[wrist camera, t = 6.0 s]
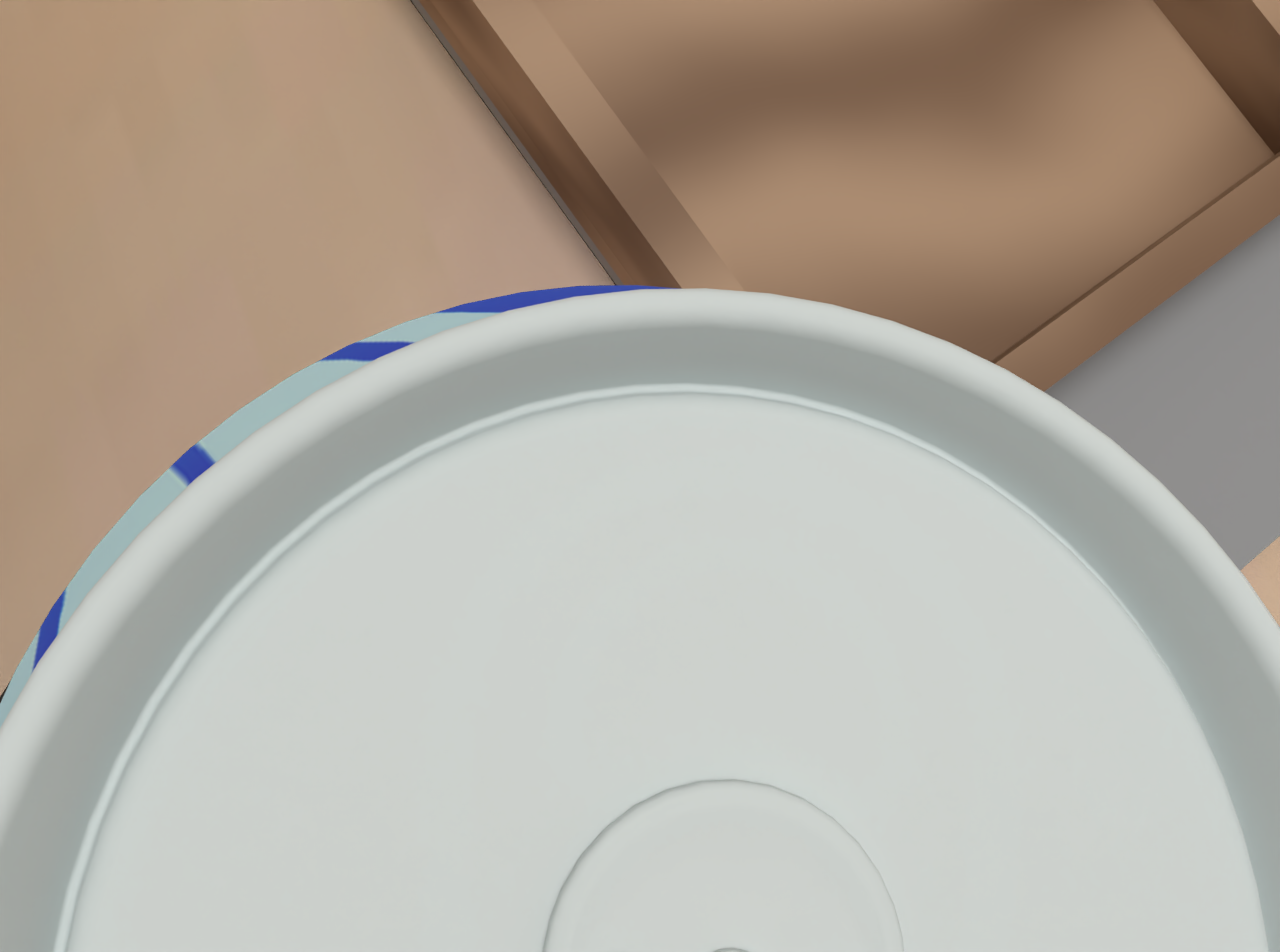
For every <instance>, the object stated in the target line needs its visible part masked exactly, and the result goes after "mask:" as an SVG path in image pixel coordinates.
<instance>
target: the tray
mask: <svg viewBox="0 0 1280 952" xmlns="http://www.w3.org/2000/svg"><path fill="white" fill-rule="evenodd" d="M419 2H420V3H421V4H422V6H423V7H424V9H425V10H426V11H427V13H428V14H429V16H430V17H431V18H432V20H433V21H434V22H435V24H436V25H437V27H438V28H439V29H440V31H441V32H442V34H443V35H444V36H445V38H446V39H447V40H448V42H449V43H450V45H451V46H452V47H453V49H454V50H455V52H456V53H457V54H458V56H459V57H460V59H461V60H462V61H463V63H464V64H465V65H466V67H467V68H468V70H469V71H470V72H471V74H472V75H473V77H474V78H475V79H476V81H477V82H478V83H479V85H480V86H481V88H482V89H483V90H484V92H485V93H486V95H487V96H488V97H489V99H490V100H491V101H492V103H493V104H494V106H495V107H496V108H497V110H498V111H499V113H500V114H501V115H502V117H503V118H504V119H505V121H506V122H507V124H508V125H509V126H510V128H511V129H512V131H513V132H514V133H515V135H516V136H517V137H518V139H519V140H520V142H521V143H522V144H523V146H524V147H525V149H526V150H527V151H528V153H529V154H530V155H531V157H532V158H533V160H534V161H535V162H536V164H537V165H538V167H539V168H540V169H541V171H542V172H543V173H544V175H545V176H546V178H547V179H548V180H549V182H550V183H551V185H552V186H553V187H554V189H555V190H556V191H557V193H558V194H559V196H560V197H561V198H562V200H563V201H564V203H565V204H566V205H567V207H568V208H569V209H570V211H571V212H572V214H573V215H574V216H575V218H576V219H577V221H578V222H579V223H580V225H581V226H582V227H583V229H584V230H585V232H586V233H587V234H588V236H589V237H590V239H591V240H592V241H593V243H594V244H595V245H596V247H597V248H598V250H599V251H600V252H601V254H602V255H603V257H604V258H605V259H606V261H607V262H608V263H609V265H610V266H611V268H612V269H613V270H614V272H615V273H616V275H617V276H618V277H619V279H620V280H621V281H622V283H623V284H624V285H641V286H654V287H666V288H679V289H696V288H708V289H720V290H733V291H746V292H758V293H770V294H776V295H782V296H787V297H793V298H799V299H805V300H810V301H816V302H822V303H827V304H833V305H836V306H840V307H844V308H847V309H851V310H855V311H858V312H862V313H866V314H869V315H873V316H877V317H880V318H884V319H888V320H891V321H894V322H897V323H899V324H902V325H905V326H907V327H910V328H913V329H915V330H918V331H921V332H923V333H926V334H929V335H931V336H934V337H937V338H939V339H942V340H945V341H947V342H950V343H952V344H954V345H956V346H959V347H961V348H963V349H965V350H967V351H969V352H971V353H973V354H975V355H977V356H979V357H981V358H983V359H985V360H988V361H990V362H992V363H994V364H996V365H998V366H1000V367H1002V368H1004V369H1006V370H1008V371H1010V372H1011V373H1013V374H1015V375H1016V376H1018V377H1020V378H1021V379H1023V380H1025V381H1026V382H1028V383H1030V384H1031V385H1033V386H1035V387H1036V388H1038V389H1040V390H1041V391H1043V392H1044V391H1046V390H1047V389H1048V388H1050V387H1051V386H1052V385H1054V384H1055V383H1056V382H1058V381H1059V380H1060V379H1062V378H1063V377H1064V376H1066V375H1067V374H1068V373H1070V372H1071V371H1072V370H1074V369H1075V368H1076V367H1078V366H1079V365H1080V364H1082V363H1083V362H1084V361H1086V360H1087V359H1088V358H1090V357H1091V356H1092V355H1094V354H1095V353H1096V352H1098V351H1099V350H1100V349H1102V348H1103V347H1104V346H1106V345H1107V344H1108V343H1110V342H1111V341H1112V340H1114V339H1115V338H1116V337H1118V336H1119V335H1120V334H1122V333H1123V332H1124V331H1126V330H1127V329H1128V328H1130V327H1131V326H1132V325H1134V324H1135V323H1136V322H1138V321H1139V320H1140V319H1142V318H1143V317H1144V316H1146V315H1147V314H1148V313H1150V312H1151V311H1152V310H1154V309H1155V308H1156V307H1158V306H1159V305H1160V304H1162V303H1163V302H1164V301H1166V300H1167V299H1168V298H1170V297H1171V296H1172V295H1173V294H1175V293H1176V292H1177V291H1179V290H1180V289H1181V288H1183V287H1184V286H1185V285H1187V284H1188V283H1189V282H1191V281H1192V280H1193V279H1195V278H1196V277H1197V276H1199V275H1200V274H1201V273H1203V272H1204V271H1205V270H1207V269H1208V268H1209V267H1211V266H1212V265H1213V264H1215V263H1216V262H1217V261H1219V260H1220V259H1221V258H1223V257H1224V256H1225V255H1227V254H1228V253H1229V252H1231V251H1232V250H1233V249H1235V248H1236V247H1237V246H1239V245H1240V244H1241V243H1243V242H1244V241H1245V240H1247V239H1248V238H1249V237H1251V236H1252V235H1253V234H1255V233H1256V232H1257V231H1259V230H1260V229H1261V228H1263V227H1264V226H1265V225H1267V224H1268V223H1269V222H1271V221H1272V220H1273V219H1275V218H1276V217H1277V216H1279V215H1280V0H419Z"/></svg>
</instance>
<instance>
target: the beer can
mask: <svg viewBox="0 0 1280 952" xmlns="http://www.w3.org/2000/svg"><path fill="white" fill-rule="evenodd" d="M0 952H1280V627H1279V625H1278V624H1277V623H1276V621H1275V620H1274V618H1273V617H1272V615H1271V614H1270V612H1269V611H1268V609H1267V608H1266V607H1265V605H1264V604H1263V602H1262V601H1261V599H1260V598H1259V596H1258V595H1257V593H1256V592H1255V590H1254V589H1253V588H1252V586H1251V585H1250V583H1249V582H1248V580H1247V579H1246V577H1245V576H1244V575H1243V574H1242V573H1241V571H1240V570H1239V569H1238V568H1237V566H1236V565H1235V564H1234V563H1233V562H1232V560H1231V559H1230V558H1229V557H1228V555H1227V554H1226V553H1225V552H1224V550H1223V549H1222V548H1221V547H1220V546H1219V544H1218V543H1217V542H1216V541H1215V539H1214V538H1213V537H1212V536H1211V535H1210V533H1209V532H1208V531H1207V530H1206V528H1205V527H1204V526H1203V525H1202V524H1201V523H1200V522H1199V521H1198V520H1197V519H1196V518H1195V517H1194V516H1193V515H1192V514H1191V513H1190V512H1189V511H1188V510H1187V509H1186V508H1185V507H1184V506H1183V504H1182V503H1181V502H1180V501H1179V500H1178V499H1177V498H1176V497H1175V496H1174V495H1173V494H1172V493H1171V492H1170V491H1169V490H1168V489H1167V488H1166V487H1165V486H1164V485H1163V484H1162V483H1161V482H1160V481H1159V480H1158V479H1157V478H1156V477H1155V476H1153V475H1152V474H1151V473H1150V472H1149V471H1148V470H1147V469H1145V468H1144V467H1143V466H1142V465H1141V464H1140V463H1139V462H1137V461H1136V460H1135V459H1134V458H1133V457H1132V456H1130V455H1129V454H1128V453H1127V452H1126V451H1125V450H1124V449H1122V448H1121V447H1120V446H1119V445H1118V444H1117V443H1116V442H1114V441H1113V440H1112V439H1111V438H1109V437H1108V436H1107V435H1105V434H1104V433H1102V432H1101V431H1100V430H1098V429H1097V428H1096V427H1094V426H1093V425H1091V424H1090V423H1089V422H1087V421H1086V420H1085V419H1083V418H1082V417H1080V416H1079V415H1078V414H1076V413H1075V412H1074V411H1072V410H1071V409H1069V408H1068V407H1067V406H1065V405H1064V404H1063V403H1061V402H1060V401H1058V400H1056V399H1055V398H1053V397H1051V396H1050V395H1048V394H1046V393H1045V392H1043V391H1041V390H1040V389H1038V388H1036V387H1035V386H1033V385H1031V384H1030V383H1028V382H1026V381H1025V380H1023V379H1021V378H1020V377H1018V376H1016V375H1015V374H1013V373H1011V372H1010V371H1008V370H1006V369H1004V368H1002V367H1000V366H998V365H996V364H994V363H992V362H990V361H988V360H985V359H983V358H981V357H979V356H977V355H975V354H973V353H971V352H969V351H967V350H965V349H963V348H961V347H959V346H956V345H954V344H952V343H950V342H947V341H945V340H942V339H939V338H937V337H934V336H931V335H929V334H926V333H923V332H921V331H918V330H915V329H913V328H910V327H907V326H905V325H902V324H899V323H897V322H894V321H891V320H888V319H884V318H880V317H877V316H873V315H869V314H866V313H862V312H858V311H855V310H851V309H847V308H844V307H840V306H836V305H833V304H827V303H822V302H816V301H810V300H805V299H799V298H793V297H787V296H782V295H776V294H770V293H758V292H746V291H733V290H720V289H708V288H696V289H679V288H666V287H654V286H641V285H613V286H575V287H566V288H556V289H547V290H538V291H529V292H521V293H516V294H511V295H506V296H501V297H496V298H491V299H487V300H482V301H477V302H472V303H467V304H463V305H459V306H456V307H453V308H450V309H446V310H443V311H440V312H437V313H433V314H430V315H427V316H423V317H420V318H417V319H414V320H410V321H407V322H404V323H402V324H399V325H397V326H394V327H392V328H390V329H387V330H385V331H382V332H380V333H377V334H375V335H373V336H370V337H368V338H365V339H363V340H360V341H358V342H356V343H353V344H351V345H348V346H346V347H344V348H342V349H341V350H339V351H337V352H335V353H333V354H331V355H329V356H327V357H325V358H323V359H322V360H320V361H318V362H316V363H314V364H312V365H310V366H308V367H306V368H304V369H302V370H301V371H299V372H297V373H295V374H293V375H291V376H290V377H288V378H287V379H285V380H284V381H282V382H281V383H279V384H278V385H276V386H274V387H273V388H271V389H270V390H268V391H267V392H265V393H264V394H262V395H261V396H259V397H258V398H256V399H255V400H253V401H251V402H250V403H248V404H247V405H245V406H244V407H242V408H241V409H239V410H238V411H237V412H235V413H234V414H233V415H232V416H230V417H229V418H228V419H227V420H225V421H224V422H223V423H222V424H220V425H219V426H218V427H216V428H215V429H214V430H213V431H211V432H210V433H209V434H208V435H206V436H205V437H204V438H203V439H201V440H200V441H199V442H198V443H196V444H195V445H194V446H192V447H191V448H190V449H189V450H188V451H187V452H186V453H185V454H183V455H182V456H181V457H180V458H179V459H178V460H177V461H176V462H175V463H174V464H173V465H172V466H171V467H170V468H169V469H168V470H167V471H166V472H165V473H164V474H163V475H162V476H160V477H159V478H158V479H157V480H156V481H155V482H154V483H153V484H152V485H151V486H150V487H149V488H148V489H147V490H146V491H145V492H144V493H143V494H142V495H141V496H140V497H139V498H138V499H137V500H136V501H135V502H134V504H133V505H132V506H131V507H130V508H129V509H128V511H127V512H126V513H125V514H124V515H123V516H122V517H121V519H120V520H119V521H118V522H117V523H116V524H115V525H114V527H113V528H112V529H111V530H110V531H109V532H108V534H107V535H106V536H105V537H104V538H103V539H102V540H101V542H100V543H99V544H98V545H97V546H96V547H95V548H94V550H93V551H92V553H91V554H90V555H89V557H88V558H87V560H86V561H85V562H84V564H83V565H82V567H81V568H80V569H79V571H78V572H77V573H76V575H75V576H74V578H73V579H72V580H71V582H70V583H69V585H68V586H67V587H66V589H65V590H64V592H63V593H62V594H61V596H60V597H59V599H58V600H57V601H56V603H55V604H54V606H53V607H52V609H51V610H50V612H49V614H48V616H47V617H46V619H45V621H44V622H43V624H42V626H41V628H40V629H39V631H38V633H37V634H36V636H35V638H34V640H33V641H32V643H31V645H30V646H29V648H28V650H27V651H26V653H25V655H24V657H23V658H22V660H21V662H20V663H19V665H18V667H17V669H16V671H15V673H14V675H13V677H12V679H11V681H10V684H9V686H8V688H7V690H6V692H5V694H4V696H3V699H2V701H1V703H0Z"/></svg>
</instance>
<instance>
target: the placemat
mask: <svg viewBox="0 0 1280 952" xmlns="http://www.w3.org/2000/svg"><path fill="white" fill-rule="evenodd" d="M411 1H412V2H413V4H414V5H415V7H416V8H417V9H418V11H419V12H420V14H421V15H422V16H423V18H424V19H425V20H426V22H427V23H428V25H429V26H430V27H431V29H432V30H433V32H434V33H435V34H436V36H437V37H438V38H439V40H440V41H441V43H442V44H443V45H444V47H445V48H446V50H447V51H448V52H449V54H450V55H451V56H452V58H453V59H454V61H455V62H456V63H457V65H458V66H459V68H460V69H461V70H462V72H463V73H464V75H465V76H466V77H467V79H468V80H469V81H470V83H471V84H472V86H473V87H474V88H475V90H476V91H477V93H478V94H479V95H480V97H481V98H482V99H483V101H484V102H485V104H486V105H487V106H488V108H489V109H490V111H491V112H492V113H493V115H494V116H495V117H496V119H497V120H498V122H499V123H500V124H501V126H502V127H503V129H504V130H505V131H506V133H507V134H508V135H509V137H510V138H511V140H512V141H513V142H514V144H515V145H516V147H517V148H518V149H519V151H520V152H521V154H522V155H523V156H524V158H525V159H526V160H527V162H528V163H529V165H530V166H531V167H532V169H533V170H534V172H535V173H536V174H537V176H538V177H539V178H540V180H541V181H542V183H543V184H544V185H545V187H546V188H547V190H548V191H549V192H550V194H551V195H552V196H553V198H554V199H555V201H556V202H557V203H558V205H559V206H560V208H561V209H562V210H563V212H564V213H565V215H566V216H567V217H568V219H569V220H570V221H571V223H572V224H573V226H574V227H575V228H576V230H577V231H578V233H579V234H580V235H581V237H582V238H583V239H584V241H585V242H586V244H587V245H588V246H589V248H590V249H591V251H592V252H593V253H594V255H595V256H596V257H597V259H598V260H599V262H600V263H601V264H602V266H603V267H604V269H605V270H606V271H607V273H608V274H609V275H610V277H611V278H612V280H613V281H614V282H615V284H616V285H624V284H623V283H622V281H621V280H620V279H619V277H618V276H617V275H616V273H615V272H614V270H613V269H612V268H611V266H610V265H609V263H608V262H607V261H606V259H605V258H604V257H603V255H602V254H601V252H600V251H599V250H598V248H597V247H596V245H595V244H594V243H593V241H592V240H591V239H590V237H589V236H588V234H587V233H586V232H585V230H584V229H583V227H582V226H581V225H580V223H579V222H578V221H577V219H576V218H575V216H574V215H573V214H572V212H571V211H570V209H569V208H568V207H567V205H566V204H565V203H564V201H563V200H562V198H561V197H560V196H559V194H558V193H557V191H556V190H555V189H554V187H553V186H552V185H551V183H550V182H549V180H548V179H547V178H546V176H545V175H544V173H543V172H542V171H541V169H540V168H539V167H538V165H537V164H536V162H535V161H534V160H533V158H532V157H531V155H530V154H529V153H528V151H527V150H526V149H525V147H524V146H523V144H522V143H521V142H520V140H519V139H518V137H517V136H516V135H515V133H514V132H513V131H512V129H511V128H510V126H509V125H508V124H507V122H506V121H505V119H504V118H503V117H502V115H501V114H500V113H499V111H498V110H497V108H496V107H495V106H494V104H493V103H492V101H491V100H490V99H489V97H488V96H487V95H486V93H485V92H484V90H483V89H482V88H481V86H480V85H479V83H478V82H477V81H476V79H475V78H474V77H473V75H472V74H471V72H470V71H469V70H468V68H467V67H466V65H465V64H464V63H463V61H462V60H461V59H460V57H459V56H458V54H457V53H456V52H455V50H454V49H453V47H452V46H451V45H450V43H449V42H448V40H447V39H446V38H445V36H444V35H443V34H442V32H441V31H440V29H439V28H438V27H437V25H436V24H435V22H434V21H433V20H432V18H431V17H430V16H429V14H428V13H427V11H426V10H425V9H424V7H423V6H422V4H421V3H420V2H419V0H411ZM1044 392H1045V393H1046V394H1048V395H1050V396H1051V397H1053V398H1055V399H1056V400H1058V401H1060V402H1061V403H1063V404H1064V405H1065V406H1067V407H1068V408H1069V409H1071V410H1072V411H1074V412H1075V413H1076V414H1078V415H1079V416H1080V417H1082V418H1083V419H1085V420H1086V421H1087V422H1089V423H1090V424H1091V425H1093V426H1094V427H1096V428H1097V429H1098V430H1100V431H1101V432H1102V433H1104V434H1105V435H1107V436H1108V437H1109V438H1111V439H1112V440H1113V441H1114V442H1116V443H1117V444H1118V445H1119V446H1120V447H1121V448H1122V449H1124V450H1125V451H1126V452H1127V453H1128V454H1129V455H1130V456H1132V457H1133V458H1134V459H1135V460H1136V461H1137V462H1139V463H1140V464H1141V465H1142V466H1143V467H1144V468H1145V469H1147V470H1148V471H1149V472H1150V473H1151V474H1152V475H1153V476H1155V477H1156V478H1157V479H1158V480H1159V481H1160V482H1161V483H1162V484H1163V485H1164V486H1165V487H1166V488H1167V489H1168V490H1169V491H1170V492H1171V493H1172V494H1173V495H1174V496H1175V497H1176V498H1177V499H1178V500H1179V501H1180V502H1181V503H1182V504H1183V506H1184V507H1185V508H1186V509H1187V510H1188V511H1189V512H1190V513H1191V514H1192V515H1193V516H1194V517H1195V518H1196V519H1197V520H1198V521H1199V522H1200V523H1201V524H1202V525H1203V526H1204V527H1205V528H1206V530H1207V531H1208V532H1209V533H1210V535H1211V536H1212V537H1213V538H1214V539H1215V541H1216V542H1217V543H1218V544H1219V546H1220V547H1221V548H1222V549H1223V550H1224V552H1225V553H1226V554H1227V555H1228V557H1229V558H1230V559H1231V560H1232V562H1233V563H1234V564H1235V565H1236V566H1237V568H1238V569H1239V570H1241V569H1242V568H1243V567H1244V566H1246V565H1247V564H1248V563H1249V562H1250V561H1251V560H1252V559H1254V558H1255V557H1256V556H1257V555H1258V554H1259V553H1261V552H1262V551H1263V550H1264V549H1265V548H1266V547H1267V546H1269V545H1270V544H1271V543H1272V542H1273V541H1274V540H1275V539H1277V538H1278V537H1279V536H1280V215H1279V216H1277V217H1276V218H1275V219H1273V220H1272V221H1271V222H1269V223H1268V224H1267V225H1265V226H1264V227H1263V228H1261V229H1260V230H1259V231H1257V232H1256V233H1255V234H1253V235H1252V236H1251V237H1249V238H1248V239H1247V240H1245V241H1244V242H1243V243H1241V244H1240V245H1239V246H1237V247H1236V248H1235V249H1233V250H1232V251H1231V252H1229V253H1228V254H1227V255H1225V256H1224V257H1223V258H1221V259H1220V260H1219V261H1217V262H1216V263H1215V264H1213V265H1212V266H1211V267H1209V268H1208V269H1207V270H1205V271H1204V272H1203V273H1201V274H1200V275H1199V276H1197V277H1196V278H1195V279H1193V280H1192V281H1191V282H1189V283H1188V284H1187V285H1185V286H1184V287H1183V288H1181V289H1180V290H1179V291H1177V292H1176V293H1175V294H1173V295H1172V296H1171V297H1170V298H1168V299H1167V300H1166V301H1164V302H1163V303H1162V304H1160V305H1159V306H1158V307H1156V308H1155V309H1154V310H1152V311H1151V312H1150V313H1148V314H1147V315H1146V316H1144V317H1143V318H1142V319H1140V320H1139V321H1138V322H1136V323H1135V324H1134V325H1132V326H1131V327H1130V328H1128V329H1127V330H1126V331H1124V332H1123V333H1122V334H1120V335H1119V336H1118V337H1116V338H1115V339H1114V340H1112V341H1111V342H1110V343H1108V344H1107V345H1106V346H1104V347H1103V348H1102V349H1100V350H1099V351H1098V352H1096V353H1095V354H1094V355H1092V356H1091V357H1090V358H1088V359H1087V360H1086V361H1084V362H1083V363H1082V364H1080V365H1079V366H1078V367H1076V368H1075V369H1074V370H1072V371H1071V372H1070V373H1068V374H1067V375H1066V376H1064V377H1063V378H1062V379H1060V380H1059V381H1058V382H1056V383H1055V384H1054V385H1052V386H1051V387H1050V388H1048V389H1047V390H1046V391H1044Z"/></svg>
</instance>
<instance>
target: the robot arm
mask: <svg viewBox="0 0 1280 952" xmlns="http://www.w3.org/2000/svg"><path fill="white" fill-rule="evenodd" d="M9 684H10V682H9ZM9 684H8V686H9ZM8 686H7V687H6V689H5V690H4V692H3V693H2V695H1V697H0V703H1V701H2V699H3V696H4V694H5V692H6V690H7V688H8Z"/></svg>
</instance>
